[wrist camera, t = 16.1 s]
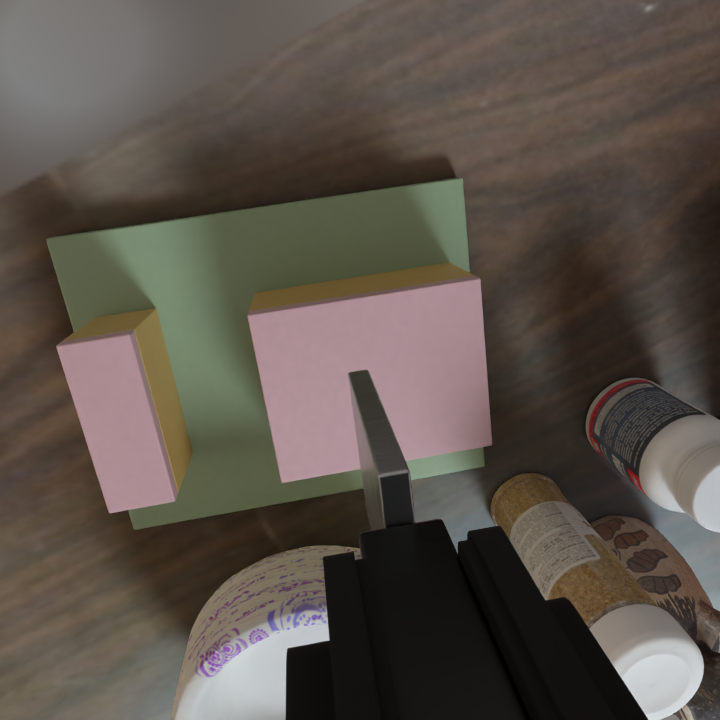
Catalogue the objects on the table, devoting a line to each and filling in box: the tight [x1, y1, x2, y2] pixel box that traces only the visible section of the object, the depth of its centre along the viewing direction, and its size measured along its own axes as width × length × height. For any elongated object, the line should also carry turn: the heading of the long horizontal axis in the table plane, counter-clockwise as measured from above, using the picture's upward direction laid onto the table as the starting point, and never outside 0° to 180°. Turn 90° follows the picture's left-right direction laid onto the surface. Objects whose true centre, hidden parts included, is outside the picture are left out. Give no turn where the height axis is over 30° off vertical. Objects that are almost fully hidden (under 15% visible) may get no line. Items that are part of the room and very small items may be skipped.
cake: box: [247, 262, 492, 483], centre depth 28 cm, size 8×10×5 cm
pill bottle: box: [586, 378, 720, 532], centre depth 30 cm, size 5×5×9 cm
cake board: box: [46, 178, 485, 530], centre depth 31 cm, size 16×20×1 cm
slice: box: [56, 308, 193, 513], centre depth 27 cm, size 8×3×5 cm, turn 8°
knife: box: [348, 370, 531, 720], centre depth 11 cm, size 4×2×12 cm, turn 7°
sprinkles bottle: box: [491, 473, 704, 720], centre depth 29 cm, size 5×5×14 cm
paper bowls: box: [171, 545, 361, 720], centre depth 32 cm, size 15×15×8 cm
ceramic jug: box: [589, 515, 720, 720], centre depth 32 cm, size 7×7×12 cm
